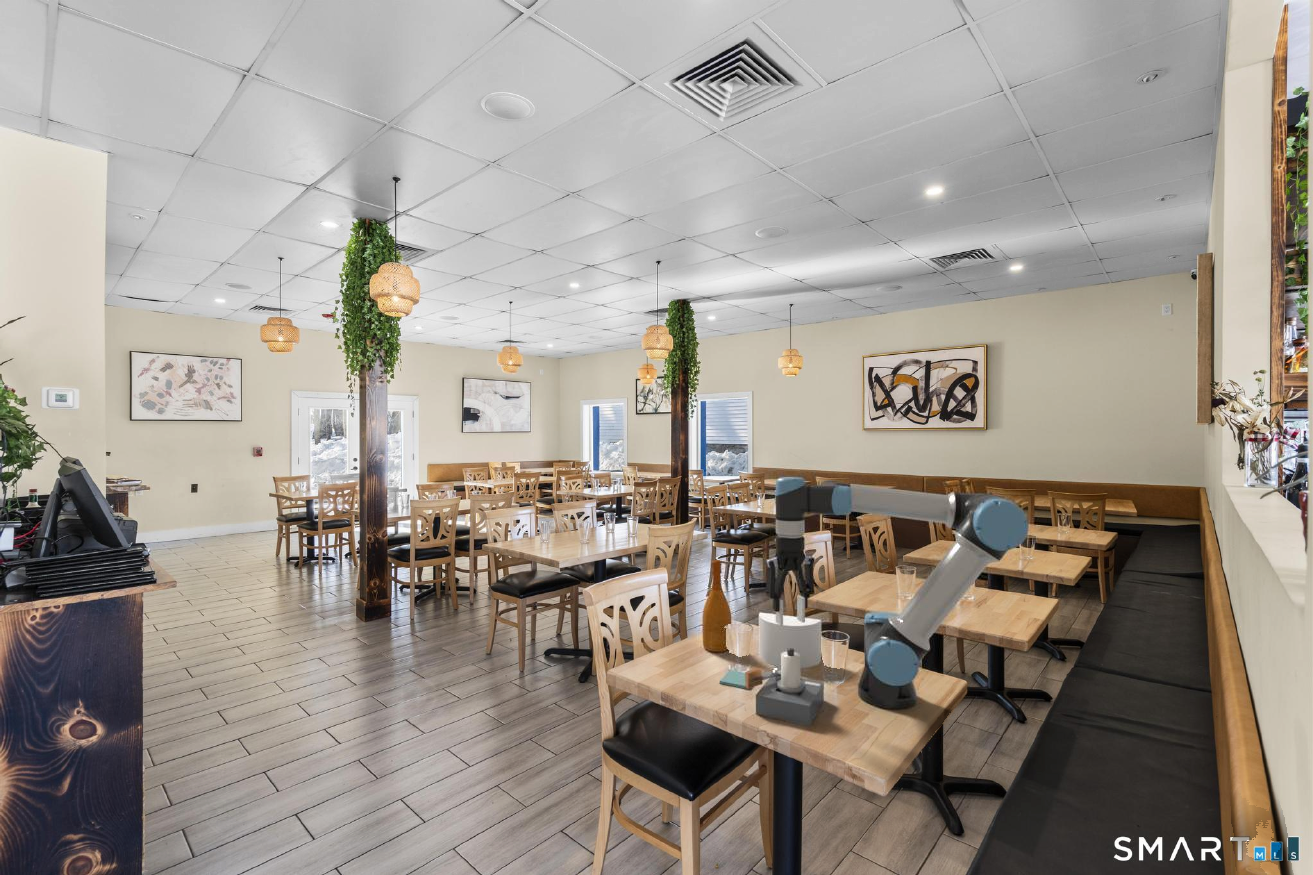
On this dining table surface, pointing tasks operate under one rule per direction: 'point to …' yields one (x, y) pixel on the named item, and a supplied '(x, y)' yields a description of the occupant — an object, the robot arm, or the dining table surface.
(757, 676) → the clip lever
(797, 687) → the plug
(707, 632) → the wine bottle
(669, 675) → the dining table surface
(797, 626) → the container
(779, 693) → the socket block
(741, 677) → the pad
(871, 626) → the robot arm
